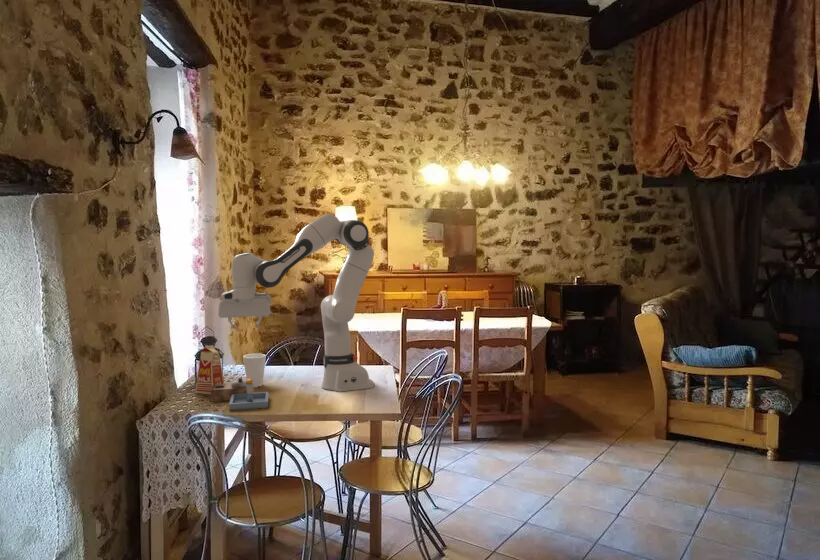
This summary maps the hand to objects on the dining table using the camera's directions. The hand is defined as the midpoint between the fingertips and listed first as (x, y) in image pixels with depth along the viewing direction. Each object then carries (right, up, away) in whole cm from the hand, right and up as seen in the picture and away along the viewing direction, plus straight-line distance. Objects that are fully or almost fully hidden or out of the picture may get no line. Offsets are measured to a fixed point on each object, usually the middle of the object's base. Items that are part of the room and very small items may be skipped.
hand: (245, 327), depth 241 cm
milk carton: (-17, -28, +10) cm, 34 cm away
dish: (+4, -29, -9) cm, 31 cm away
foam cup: (-1, -27, +19) cm, 33 cm away
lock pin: (+4, -28, -9) cm, 30 cm away
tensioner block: (-6, -28, 0) cm, 29 cm away
